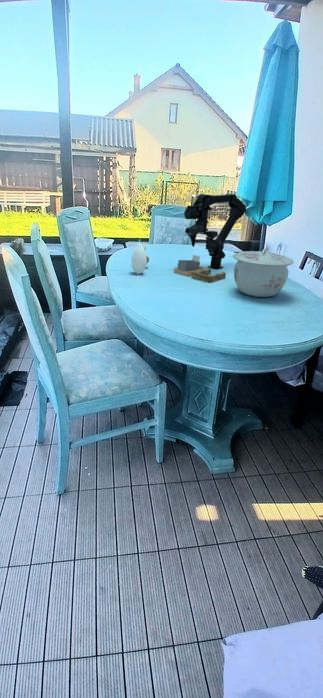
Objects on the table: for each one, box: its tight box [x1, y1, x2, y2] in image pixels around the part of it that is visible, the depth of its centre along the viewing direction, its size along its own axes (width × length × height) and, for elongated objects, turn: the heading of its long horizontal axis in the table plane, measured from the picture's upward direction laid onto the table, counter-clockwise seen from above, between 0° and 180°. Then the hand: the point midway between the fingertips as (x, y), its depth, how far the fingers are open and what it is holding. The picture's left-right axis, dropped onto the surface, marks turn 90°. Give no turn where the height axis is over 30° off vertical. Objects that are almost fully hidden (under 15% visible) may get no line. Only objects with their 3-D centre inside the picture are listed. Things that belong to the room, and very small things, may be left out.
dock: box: [190, 268, 227, 284], centre depth 201 cm, size 15×12×3 cm
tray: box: [173, 266, 208, 277], centre depth 211 cm, size 17×10×2 cm, turn 138°
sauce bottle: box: [130, 238, 148, 275], centre depth 199 cm, size 8×8×18 cm
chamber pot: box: [232, 248, 295, 298], centre depth 177 cm, size 28×28×21 cm
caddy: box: [176, 255, 201, 271], centre depth 208 cm, size 12×6×8 cm, turn 137°
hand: (199, 248), depth 214 cm, fingers open, 9 cm apart
